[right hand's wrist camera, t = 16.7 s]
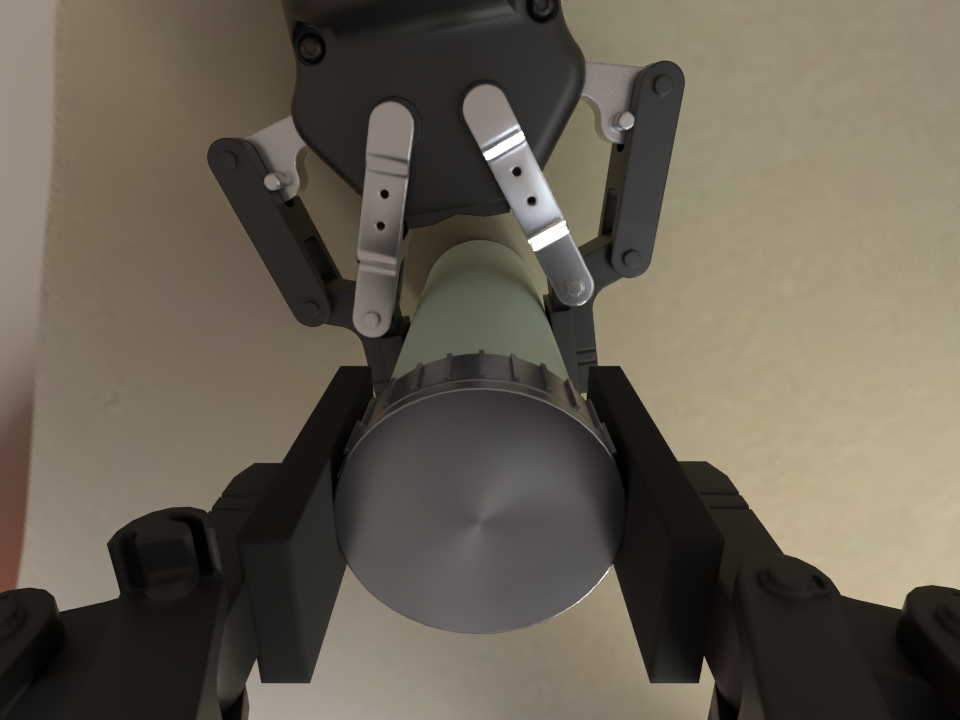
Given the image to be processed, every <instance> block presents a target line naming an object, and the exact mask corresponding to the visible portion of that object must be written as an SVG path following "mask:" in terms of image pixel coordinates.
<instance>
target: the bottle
mask: <svg viewBox="0 0 960 720" xmlns="http://www.w3.org/2000/svg"><path fill="white" fill-rule="evenodd" d="M479 350H484V352H485V354H496V355H504V356H509V357H510V355H511V353H513V354H516V356H517V358H518V359H522V360H525V361H528V362H530V363H533V364H536V365H538V366H540V364H541V363H543V364H545V365H546V367H547V370H548V371H550V372H552V373H554V374H555V375H557V376H558V377H560V378H561V379H563V380H564V381H566V379H567V378H568V379H569V376H568V373H567V371H566V368H565V365H564V363H563V360H562V357H561V354H560V352H559V349H558V346H557V344H556V341H555V338H554V335H553V333H552V330H551V327H550V325H549V322H548V319H547V316H546V314H545V311H544V308H543V306H542V303H541V300H540V297H539V295H538V292H537V289H536V287H535V284H534V281H533V278H532V276H531V273H530V271H529V269H528V267H527V265H526V264H525V262H524V261H523V260H522V259H521V258H520V257H519V256H518V255H517V254H516V253H515V252H514V251H513V250H511V249H510V248H508V247H506V246H504V245H502V244H499V243H497V242H493V241H487V240H473V241H467V242H464V243H461V244H458V245H456V246H454V247H452V248H451V249H449V250H448V251H446V252H445V253H444V254H443V255H442V256H441V257H440V258H439V259H438V260H437V261H436V263H435V264H434V266H433V268H432V269H431V271H430V274H429V276H428V279H427V282H426V285H425V287H424V290H423V293H422V295H421V298H420V301H419V304H418V306H417V309H416V312H415V315H414V317H413V320H412V323H411V325H410V328H409V331H408V334H407V336H406V339H405V342H404V344H403V347H402V350H401V353H400V355H399V358H398V361H397V364H396V366H395V369H394V372H393V374H392V377H391V379H392V378H394V377H396V378H397V379H399V378H400V377H402V376H403V375H405V374H407V373H408V372H410V371H412V370H414V369H415V368H416V365H417V363H420V362H422V363H423V365H425V364H427V363H429V362H432V361H436V360H439V359H443V358H446V356H447V353H452V354H453V356H457V355H463V354H479ZM569 380H570V379H569ZM390 381H391V380H390ZM388 386H389V385H388Z"/></svg>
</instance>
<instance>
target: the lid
mask: <svg viewBox="0 0 960 720" xmlns="http://www.w3.org/2000/svg"><path fill="white" fill-rule="evenodd" d="M343 453H344V454H346V457H345V459H344V461H343V464H342V466H341V468H340V471H339V473H338V476H337V483H336V487H335V493H334V500H333V509H334V519H335V528H336V537H337V540H338V543H339V546H340V549H341V552H342V554H343V556H344V558H345V560H346V562H347V564H348V566H349V567H350V569H351V570H352V572H353V573H354V574H355V576H356V577H357V579H358V580H359V581H360V582H361V583H362V584H363V585H364V587H365V588H366V589H367V590H368V591H369V592H370V593H371V594H373V595H374V596H375V597H376V598H377V599H378V600H379V601H381V602H382V603H384V604H385V605H387V606H388V607H389V608H391V609H392V610H394V611H396V612H398V613H399V614H401V615H403V616H405V617H407V618H409V619H411V620H414V621H416V622H419V623H421V624H424V625H427V626H430V627H434V628H437V629H441V630H446V631H452V632H458V633H470V634H492V633H501V632H509V631H514V630H519V629H523V628H527V627H530V626H533V625H536V624H539V623H542V622H545V621H547V620H549V619H551V618H553V617H555V616H557V615H560V614H561V613H563V612H565V611H566V610H568V609H569V608H571V607H573V606H574V605H576V604H577V603H578V602H579V601H581V600H582V599H583V598H584V597H586V596H587V595H588V594H589V593H590V592H591V591H592V590H593V589H594V588H595V587H596V586H597V585H598V584H599V583H600V582H601V580H602V579H603V578H604V576H605V575H606V574H607V572H608V571H609V569H610V568H611V566H612V564H613V562H614V561H615V559H616V557H617V555H618V552H619V550H620V547H621V544H622V542H623V538H624V531H625V523H626V513H627V498H626V490H625V486H624V482H623V478H622V475H621V473H620V470H619V468H618V466H617V463H616V461H615V458H614V457H616V456H618V454H617V451H616V449H615V447H614V444H613V442H612V440H611V437H610V435H609V433H608V430H607V428H606V426H605V423H604V422H603V423H600V420H599V418H598V416H597V413H596V411H595V408H594V406H593V404H592V402H591V400H590V399H587V400H586V401H585V400H584V398H583V397H582V396H581V395H580V394H579V393H578V392H577V391H576V390H575V389H574V386H573V384H572V381H571V380H569V379H568V378H567V379H566V381H564V380H563V379H561V378H560V377H558V376H557V375H555V374H554V373H552V372H550V371H548V370H547V367H546V365H545V364H543V363H541V364H540V366H538V365H536V364H533V363H530V362H528V361H525V360H522V359H518V358H517V356H516V354H513V353H511V355H510V357H509V356H504V355H496V354H485V352H484V350H479V354H463V355H457V356H453V354H452V353H447V356H446V358H443V359H439V360H436V361H432V362H429V363H427V364H425V365H423V363H422V362H420V363H417V365H416V368H415V369H414V370H412V371H410V372H408V373H407V374H405V375H403V376H402V377H400V378H399V379H397V378H396V377H394V378H392V379H391V381H390V383H389V386H388V387H387V388H386V389H385V390H384V391H383V392H382V393H381V394H380V396H379V397H378V398H377V399H376V398H375V397H372V398H371V400H370V402H369V404H368V406H367V409H366V411H365V414H364V416H363V418H362V421H359V420H357V422H356V424H355V426H354V429H353V431H352V433H351V436H350V438H349V440H348V443H347V445H346V447H345V450H344V452H343Z"/></svg>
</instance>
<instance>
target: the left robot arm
mask: <svg viewBox="0 0 960 720" xmlns="http://www.w3.org/2000/svg"><path fill="white" fill-rule="evenodd" d="M281 2H282V6H283V10H284V14H285V18H286V23H287V27H288V31H289V35H290V39H291V42H292V46H293V50H294V54H295V59H296V68H297V75H296V85H295V90H294V94H293V98H292V104H291V113H292V115H290V116H288V117H286V118H284V119H282V120H280V121H278V122H276V123H274V124H272V125H270V126H267V127H265V128H263V129H261V130H259V131H257V132H255V133H253V134H251V135H249V136H247V137H245V138H221V139H218V140H216V141H215V142H213V143H212V144H211V146H210V148H209V150H208V154H207V159H208V164H209V167H210V169H211V171H212V172H213V174H214V176H215V178H216V179H217V181H218V183H219V185H220V186H221V188H222V190H223V192H224V193H225V195H226V197H227V199H228V200H229V202H230V204H231V206H232V207H233V209H234V211H235V213H236V214H237V216H238V218H239V220H240V221H241V223H242V225H243V227H244V228H245V230H246V232H247V234H248V235H249V237H250V239H251V241H252V243H253V244H254V246H255V248H256V250H257V251H258V253H259V255H260V257H261V258H262V260H263V262H264V264H265V265H266V267H267V269H268V271H269V272H270V274H271V276H272V278H273V279H274V281H275V283H276V285H277V286H278V288H279V290H280V292H281V293H282V295H283V297H284V299H285V300H286V302H287V304H288V306H289V307H290V309H291V311H292V313H293V315H294V316H295V318H296V319H297V320H298V321H299V322H300V323H302V324H303V325H306V326H309V327H317V326H320V325H322V324H329V325H334V326H340V327H345V328H347V329H350V330H352V331H353V332H354V333H356V334H357V335H358V337H359V338H360V339H361V341H362V344H363V347H364V351H365V355H366V359H367V363H368V366H371V368H372V381H373V387H374V391H375V394H376V399H377V398H378V397H379V396H380V394H381V393H382V392H383V391H384V390H385V389H386V388H387V387H388V385H389V383H390V380H391V377H392V374H393V372H394V369H395V366H396V364H397V361H398V358H399V355H400V353H401V350H402V347H403V344H404V342H405V339H406V336H407V334H408V331H409V328H410V325H411V322H410V318H409V316H404V317H402V314H401V310H400V303H401V296H402V289H403V281H404V274H405V267H406V260H407V254H408V250H409V246H410V240H411V233H412V229H413V228H419V227H425V226H431V225H434V224H436V223H438V222H440V221H443V220H445V219H447V218H449V217H451V216H453V215H456V214H464V215H474V216H484V217H485V216H491V215H497V214H503V213H509V212H510V210H509V209H510V208H511V209H512V211H513V213H514V215H515V217H516V219H517V220H518V222H519V224H520V226H521V228H522V230H523V232H524V234H525V236H526V238H527V240H528V242H529V244H530V245H531V247H532V249H533V251H534V253H535V255H536V257H537V259H538V261H539V263H540V265H541V266H542V268H543V270H544V272H545V274H546V276H547V282H548V290H549V294H547V295H543V299H544V307H545V314H546V316H547V319H548V322H549V325H550V327H551V330H552V333H553V335H554V338H555V341H556V344H557V346H558V349H559V352H560V354H561V357H562V360H563V363H564V365H565V368H566V371H567V373H568V376H569V379H570V380H571V381H572V384H573V386H574V389H575V390H576V391H577V392H578V393H579V394H580V395H581V393H587V386H588V373H589V366H598V363H597V352H596V342H595V332H594V322H593V312H592V307H593V302H594V299H595V297H596V295H597V294H598V293H599V292H600V291H601V290H602V289H603V288H604V287H606V286H608V285H610V284H611V283H613V282H615V281H617V280H619V279H621V278H623V277H625V278H634V277H637V276H639V275H641V274H642V273H644V272H645V271H646V270H647V268H648V267H649V265H650V262H651V257H652V252H653V247H654V242H655V237H656V231H657V226H658V221H659V216H660V211H661V206H662V200H663V195H664V190H665V185H666V180H667V174H668V169H669V164H670V159H671V154H672V148H673V143H674V138H675V133H676V128H677V122H678V117H679V112H680V107H681V102H682V96H683V91H684V85H685V79H684V75H683V72H682V70H681V69H680V67H679V66H678V65H676V64H675V63H673V62H670V61H660V62H657V63H652V64H649V65H647V66H644V67H636V66H626V65H615V64H605V63H595V62H585V59H584V56H583V53H582V51H581V49H580V47H579V46H578V44H577V43H576V42H575V40H574V38H573V37H572V35H571V34H570V31H569V29H568V27H567V25H566V22H565V19H564V16H563V12H562V7H561V0H281ZM580 99H581V100H583V101H585V102H587V103H588V104H589V105H590V107H591V108H592V110H593V112H594V116H595V129H596V132H597V134H598V136H599V137H600V138H601V139H602V140H604V141H605V142H608V143H612V149H611V156H610V162H609V168H608V175H607V181H606V187H605V194H604V200H603V206H602V213H601V219H600V226H599V232H598V237H597V238H595V239H593V240H591V241H589V242H587V243H586V244H584V245H582V246H580V247H578V248H577V246H576V244H575V242H574V239H573V237H572V235H571V233H570V231H569V229H568V226H567V223H566V221H565V219H564V217H563V215H562V213H561V210H560V208H559V206H558V204H557V202H556V200H555V198H554V196H553V194H552V192H551V190H550V188H549V186H548V184H547V182H546V180H545V178H544V176H543V174H542V171H543V169H544V167H545V165H546V163H547V161H548V160H549V158H550V156H551V154H552V152H553V150H554V148H555V146H556V144H557V142H558V140H559V138H560V136H561V134H562V132H563V130H564V129H565V127H566V125H567V123H568V121H569V119H570V117H571V115H572V113H573V111H574V109H575V107H576V105H577V103H578V101H579V100H580ZM309 149H311V150H312V151H314V152H315V153H316V154H317V155H318V156H319V157H320V158H321V159H322V160H323V161H324V162H325V163H326V164H327V165H328V166H329V167H330V168H331V169H332V170H333V171H334V172H335V173H337V174H338V175H339V176H340V177H341V178H342V179H343V180H344V181H345V182H346V183H347V184H348V185H349V186H350V187H351V188H352V189H353V190H354V191H355V192H356V193H357V194H358V195H359V196H361V197H362V198H363V199H362V208H361V217H360V227H359V236H358V245H357V262H358V272H357V281H352V280H346V279H343V278H342V276H341V275H340V273H339V271H338V269H337V267H336V265H335V263H334V261H333V259H332V257H331V256H330V254H329V252H328V250H327V248H326V246H325V244H324V242H323V240H322V238H321V237H320V235H319V233H318V231H317V229H316V227H315V225H314V223H313V221H312V219H311V218H310V216H309V214H308V212H307V210H306V208H305V206H304V204H303V202H302V200H301V198H300V197H299V196H300V195H302V194H303V193H304V192H305V190H306V188H307V185H308V176H307V173H306V170H305V166H304V159H305V155H306V153H307V151H308V150H309Z"/></svg>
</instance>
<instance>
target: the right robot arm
mask: <svg viewBox="0 0 960 720" xmlns="http://www.w3.org/2000/svg"><path fill="white" fill-rule="evenodd" d="M372 397H374V395H373V381H372V368H371V366H340V368H339V369H338V371H337V373H336V374H335V376H334V378H333V379H332V381H331V383H330V384H329V386H328V388H327V389H326V391H325V392H324V394H323V396H322V397H321V399H320V401H319V402H318V404H317V406H316V407H315V409H314V411H313V412H312V414H311V416H310V417H309V419H308V420H307V422H306V424H305V425H304V427H303V429H302V430H301V432H300V434H299V435H298V437H297V439H296V440H295V442H294V444H293V445H292V447H291V449H290V450H289V452H288V453H287V455H286V457H285V458H284V460H283V462H282V463H254V464H253V465H251V466H250V467H248V468H247V469H245V470H244V471H242V472H241V473H240V474H238V475H237V476H235V477H234V478H233V479H232V481H231V482H230V483H229V485H228V486H227V488H226V489H225V490H224V492H223V493H222V497H219V499H218V500H217V501H216V503H215V504H214V506H213V507H212V511H209V513H207V512H206V511H204V510H201V509H197V508H193V507H174V508H168V509H164V510H160V511H155V512H151V513H149V514H147V515H145V516H142V517H140V518H138V519H135V520H133V521H131V522H130V523H129V524H127V525H126V526H124V527H123V528H121V529H120V530H118V531H117V532H116V533H115V534H114V536H113V537H112V538H111V539H110V541H109V542H108V543H107V546H108V550H109V553H110V557H111V560H112V564H113V568H114V571H115V575H116V578H117V582H118V585H119V589H120V596H119V598H117V599H113V600H110V601H106V602H102V603H98V604H93V605H89V606H84V607H80V608H75V609H71V610H67V611H62V612H59V610H58V607H57V604H56V601H55V598H54V596H52V595H51V594H50V593H49V592H47V591H46V590H43V589H36V588H23V589H16V590H9V591H6V592H3V593H0V720H248V714H249V702H248V695H247V689H246V684H245V683H246V681H247V679H248V676H249V674H250V672H251V669H252V667H253V665H254V662H255V660H256V658H257V661H258V667H259V672H260V678H261V683H310V681H311V678H312V675H313V672H314V669H315V665H316V662H317V659H318V656H319V652H320V649H321V646H322V643H323V640H324V636H325V633H326V630H327V627H328V624H329V620H330V617H331V614H332V611H333V607H334V604H335V601H336V598H337V595H338V591H339V588H340V585H341V582H342V578H343V575H344V572H345V569H346V566H347V562H346V560H345V558H344V556H343V554H342V552H341V549H340V546H339V543H338V540H337V537H336V528H335V519H334V509H333V500H334V493H335V487H336V483H337V476H338V473H339V471H340V468H341V466H342V464H343V461H344V459H345V457H346V454H344V453H343V452H344V450H345V447H346V445H347V443H348V440H349V438H350V436H351V433H352V431H353V429H354V426H355V424H356V422H357V420H359V421H362V418H363V416H364V414H365V411H366V409H367V406H368V404H369V402H370V400H371V398H372ZM587 399H590V400H591V402H592V404H593V406H594V408H595V411H596V413H597V416H598V418H599V420H600V423H603V422H604V423H605V426H606V428H607V430H608V433H609V435H610V437H611V440H612V442H613V444H614V447H615V449H616V451H617V454H618V456H616V457H614V458H615V461H616V463H617V466H618V468H619V470H620V473H621V475H622V478H623V482H624V486H625V490H626V498H627V513H626V523H625V531H624V538H623V542H622V544H621V547H620V550H619V552H618V555H617V557H616V559H615V561H614V562H613V564H614V568H615V571H616V574H617V577H618V581H619V584H620V587H621V590H622V593H623V597H624V600H625V603H626V606H627V610H628V613H629V616H630V619H631V622H632V626H633V629H634V632H635V635H636V638H637V642H638V645H639V648H640V651H641V655H642V658H643V661H644V664H645V667H646V671H647V674H648V677H649V680H650V683H699V680H700V674H701V669H702V663H703V658H704V656H705V659H706V661H707V663H708V666H709V668H710V670H711V673H712V675H713V677H714V680H715V684H714V689H713V695H712V700H711V705H710V710H709V715H708V720H960V590H957V589H954V588H948V587H941V586H934V585H930V586H922V587H916V588H915V589H913V590H912V591H911V592H910V593H908V594H907V596H906V599H905V602H904V605H903V608H902V610H900V609H896V608H891V607H887V606H882V605H878V604H873V603H869V602H864V601H860V600H856V599H852V598H849V597H845V596H842V595H840V592H839V591H838V589H837V588H836V586H835V585H834V583H833V582H832V581H831V579H830V578H829V577H827V576H826V575H825V574H824V573H822V572H821V571H820V570H818V569H817V568H816V567H814V566H812V565H810V564H808V563H806V562H804V561H802V560H800V559H798V558H795V557H791V556H788V555H784V554H783V552H782V551H781V549H780V548H779V547H778V545H777V544H776V543H775V541H774V540H773V538H772V537H771V536H770V534H769V533H768V531H767V530H766V529H765V527H764V526H763V525H762V523H761V522H760V520H759V519H758V518H757V516H756V515H755V514H754V512H753V511H752V509H749V505H748V504H747V503H746V501H745V500H744V498H743V497H742V496H741V495H739V492H738V490H737V489H736V487H735V486H734V485H733V483H732V482H731V481H730V479H729V478H728V476H727V475H725V474H724V473H722V472H721V471H719V470H718V469H717V468H715V467H714V466H712V465H711V464H709V463H708V462H706V461H677V459H676V458H675V456H674V454H673V453H672V451H671V450H670V448H669V446H668V445H667V443H666V441H665V440H664V438H663V436H662V435H661V433H660V431H659V430H658V428H657V426H656V425H655V423H654V422H653V420H652V418H651V417H650V415H649V413H648V412H647V410H646V408H645V407H644V405H643V403H642V402H641V400H640V398H639V397H638V395H637V394H636V392H635V390H634V389H633V387H632V385H631V384H630V382H629V380H628V379H627V377H626V375H625V374H624V372H623V370H622V369H621V367H620V366H589V373H588V386H587Z"/></svg>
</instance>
